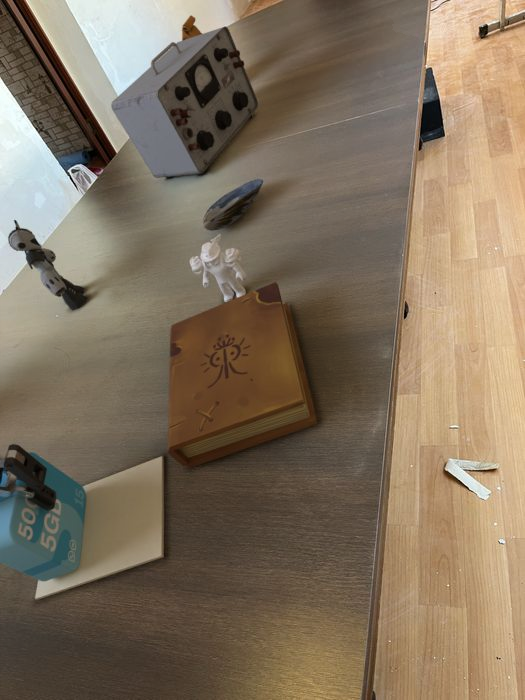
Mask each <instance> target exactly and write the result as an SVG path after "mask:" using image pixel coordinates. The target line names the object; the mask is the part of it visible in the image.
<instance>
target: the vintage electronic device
mask: <svg viewBox="0 0 525 700" xmlns="http://www.w3.org/2000/svg"><path fill="white" fill-rule="evenodd" d="M244 66H245V61H244V60H242V58H241V52H240V50H239V49H237V47H236V44H235V42H234V39H233V36H232V34H231V31H230V29H229V28H228V27H227V26H222V27H219V28H215V29H213V30H209V31H207V32H203V33H202V34H201V35H198V36H195V37H192V38H189V39H186V40H183V41H182V40H180V41H177V42H174V41H172V42H170V43H169V44H168V45H167V46H166V47H164V48H163V49H162V50H161V51H160V52H159V53H158V54H157V55H156V56H155V57H154V58H152V59H151V61H150V66H149V68H147V70H145V71H144V72H143V73H142V74H141V75H140V76H139V77H137V78H136V80H134V81H133V82H132V83H131V84H130V85H129V86H128V87H127V88H126V89H125V90H124V91H122V92H121V93H119V95H118V96H117V97H116V98H115V99H114V100H113V101H112V102H111V109H112V112H113V113H114V115H115V117H116V118H117V120H118V121H119V123H120V125H121V126H122V128H123V129H124V132H125V133H126V134H127V136H128V138H129V139H130V141H131V143H132V144H133V145H134V147H135V149H136V151H137V152H138V154H139V155H140V157H141V158H142V160H143V161H144V163H145V165H146V166H147V169H148V170H149V172H150V173H151V175H152V176H153V177H154V178H156V179H160V178H161V179H162V178H166V179H167V180H170V179H172V178H173V177H179V176H189V175H198V176H201V177H202V176H204V175H205V174H206V173H207V169H208V167H209V166H211V164H212V163H213V162H214V161H215V159H216V158H217V157H218V156H219V154H220V153H221V152H222V151H223V150H224V148H225V147H226V146H227V145H228V144H229V143H230V141H231V140H232V139H233V138H234V136H235V135H236V134H237V133H238V132H239V130H241V128H242V127H243V126H244V124H246V122H247V121H249V120H251V119H252V118H253V116H254V115H253V114H254V113H255V112H256V110H257V109H258V107H259V101H258V98H257V96H256V93H255V91H254V87H253V86H252V83H251V81H250V78H249V75H248V74H247V71H246V68H245V67H244Z"/></svg>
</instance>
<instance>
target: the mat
mask: <svg viewBox="0 0 525 700" xmlns="http://www.w3.org/2000/svg"><path fill="white" fill-rule="evenodd" d="M81 486H82V485H81ZM82 487H83V488H84V490H85V493H86V506H85V516H84V526H83V536H82V546H81V556H80V563H79V566H78V568H77V569H76V570H74V571H71V572H69V573H66V574H63V575H61V576H58V577H56V578H53V579H50V580H48V581H40V580H38V579H37V584H36V589H35V590H36V591H35V595H34V599H35V600H37V601H39V600H41V599H44V598H47V597H50V596H51V597H52V596H53V595H56V594H59V593H63V592H65V591H69V590H71V589H74V588H77V587H80V586H83V585H86V584H88V583H92V582H94V581H98V580H100V579H102V578H106V577H109V576H112V575H115V574H118V573H121V572H124V571H127V570H130V569H133V568H136V567H139V566H141V565H144V564H147V563H150V562H153V561H156V560H159V559H163V558H164V556H165V555H164V554H165V553H164V550H165V547H164V546H165V545H164V544H165V543H164V542H165V541H164V540H165V539H164V538H165V537H164V535H165V534H164V533H165V529H164V527H165V457H164V456H163V455H161V456H159V457H155V458H153V459H150V460H149V461H146V462H145V461H144V462H143V463H140V464H137V465H134V466H133V467H130V468H127V469H124V470H122V471H119V472H117V473H114V474H112V475H109V476H106V477H103V478H100V479H98V480H96V481H93V482H90V483H87V484H85V485H83V486H82Z"/></svg>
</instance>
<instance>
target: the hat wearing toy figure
mask: <svg viewBox="0 0 525 700" xmlns="http://www.w3.org/2000/svg"><path fill="white" fill-rule="evenodd" d="M221 235H222V234H221V233H218V234H217V236H215V237H214V238H212V239H210V242H205V243H204V244H202V246H201V250H200V252H201V253H200V255H199V256H197V255H195V256H192V257H191V258H190V259H189V265H190V267H191V271H192V272H191V273H194V274H196V275H201V274H202V273H203V274H202V285H203V288H204V289H207V288H208V287H209V284H210V274H211V275H213V276H214V277H215V280H216V283H217V285H218V287H219V289H220V291H221V293H222V294H223V301H224V303H226V302H228V301H231V300H233V299H234V296H235V297H236V298H238V297H240V296H243V295H245V294H247V290H246V289H245V287H244V286H243V285H241V284H240V283H239V282H238V279H240V280H241V282H242V283H244V282H245V281H246V280H247V273H246V272H245V271H244V270H243V269H242V267H241V265H240V264H239V263H238V262H236V261H239V262H240V261H242V256H241V254H240V251H239V249H237V248H235V247H232V246H231V248H229V247H228V248H226V249H225V250H224V252H222V250H221V247H220V245H218V244H219V243H218V242H219V241H221V240H222V239H221V238H222V236H221ZM238 257H239V258H238ZM202 268H203V269H202ZM232 269H233V271H235V272H236V273H235V274H234V273H233V272H232ZM198 270H199V271H198ZM202 270H203V271H202ZM196 271H197V272H196ZM228 284H229V286H230V287H231V288H230V287H229V286H228Z"/></svg>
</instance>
